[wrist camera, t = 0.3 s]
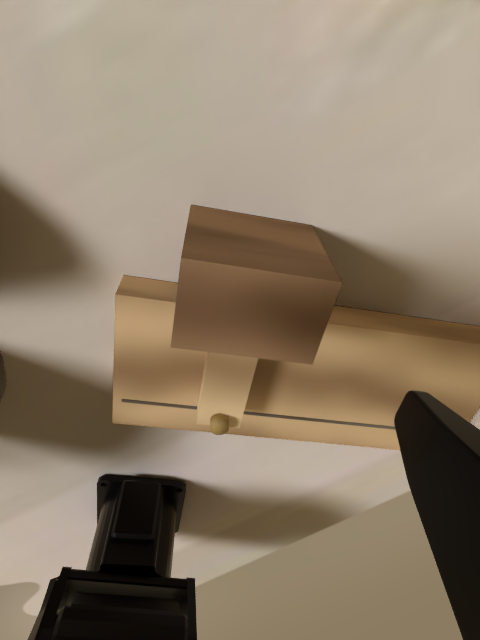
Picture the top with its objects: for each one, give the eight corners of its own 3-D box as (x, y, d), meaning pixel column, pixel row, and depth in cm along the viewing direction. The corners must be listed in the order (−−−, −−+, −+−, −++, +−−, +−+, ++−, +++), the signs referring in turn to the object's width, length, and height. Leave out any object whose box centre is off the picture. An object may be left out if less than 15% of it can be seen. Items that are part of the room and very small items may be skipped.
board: (433, 431, 29) (446, 455, 27) (119, 399, 26) (112, 423, 24) (499, 329, 24) (521, 350, 22) (123, 275, 21) (115, 294, 19)
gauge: (264, 384, 26) (275, 464, 21) (169, 374, 25) (157, 454, 20) (311, 225, 20) (342, 282, 15) (190, 204, 19) (181, 257, 14)
